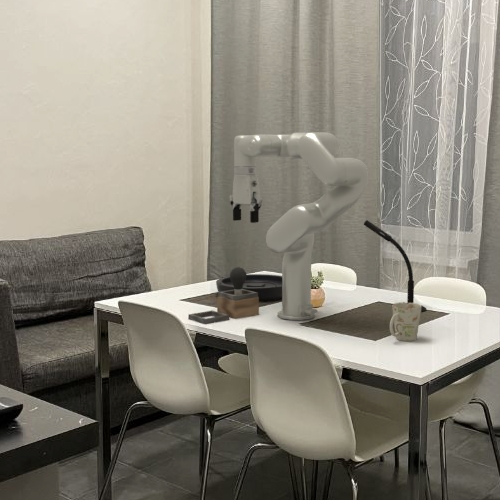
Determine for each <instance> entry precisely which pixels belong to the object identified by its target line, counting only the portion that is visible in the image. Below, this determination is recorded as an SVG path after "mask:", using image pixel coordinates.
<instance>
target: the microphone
mask: <svg viewBox="0 0 500 500" xmlns="http://www.w3.org/2000/svg"><path fill="white" fill-rule="evenodd" d="M363 225H364V227H366V228H367V229H368V230H371V231H372V232H374V233H375V234H377V235H378V236H379V237H381V238H382V239H383V240H386V241H387V242H390V243H391V244H392V245H393V246H394V247H395V248H396V249H397V250H398V251H399V252H400V254H401V256H402V258H403V259H404V262H405V264H406V267H407V268H406V269H407V273H408V274H407V275H408V280H407V298H406V299H407V302H404V301H403V302H402V303H415V301H414V298H415V296H414V294H415V280H414V275H413V268H412V265H411V262H410V259H409V257H408V255H407V253H406V252H405V250H404V248H403V247H402V246H401V245H400V244H399V243H398V242H397V241H396V240H395V239H394V238H393V237H392V236H391V235H390V234H389V233H387V232H386V231H384V230H383V229H381V228H380V227H378V226H376V225H375V224H374V223H372V222H371V221H370V220H364V222H363ZM420 305H421V304H420ZM426 311H427V307H426V306H424V305H421V313H424V312H426Z"/></svg>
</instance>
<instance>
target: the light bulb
mask: <svg viewBox="0 0 500 500" xmlns="http://www.w3.org/2000/svg"><path fill="white" fill-rule="evenodd" d="M246 274H247V272H246V270H245V269H244V268H243V267H239V266H238V267H234V268H232V269H231V271H230V273H229V276H230V279H231V281H232V283H233V286H234V290H235V291H234V294H235V295H242V288H243V284H244V282H245V280H246V277H247V275H246Z"/></svg>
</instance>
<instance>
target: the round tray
mask: <svg viewBox="0 0 500 500" xmlns="http://www.w3.org/2000/svg"><path fill="white" fill-rule="evenodd" d="M246 275H247V277H246V280H245V282H244V284H243V288H242V289H244V290H249V291H253V292H257V293H258V297H259V301H264V302H273V301H280V300H281V301H282V275H277V274H264V273H263V274H262V273H255V274H254V273H249V274H247V273H246ZM215 285H216V289H217V293H218V292H221V291H228V290H234V286H233V283H232V281H231V279H230V275H229V276H224V277H221V278H218V279H217V280H216V282H215Z"/></svg>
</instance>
